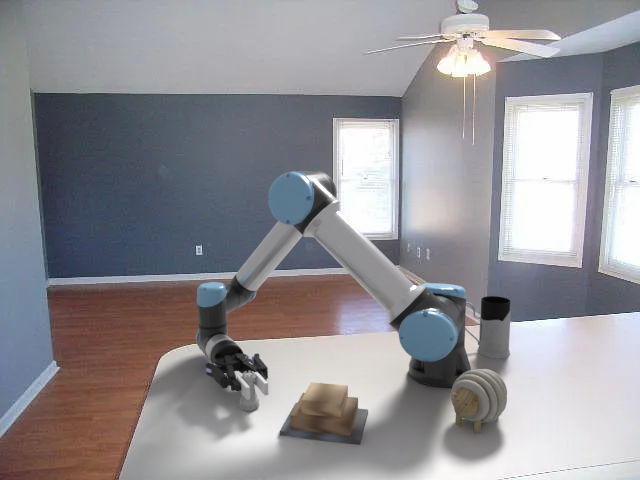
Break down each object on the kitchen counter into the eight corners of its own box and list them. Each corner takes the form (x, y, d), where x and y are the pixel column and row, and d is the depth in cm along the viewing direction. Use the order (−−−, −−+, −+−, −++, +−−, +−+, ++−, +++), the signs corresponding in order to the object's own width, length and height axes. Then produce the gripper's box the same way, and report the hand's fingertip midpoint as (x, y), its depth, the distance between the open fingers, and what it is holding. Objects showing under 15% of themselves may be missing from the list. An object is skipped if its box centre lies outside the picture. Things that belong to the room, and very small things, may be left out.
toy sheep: (435, 429, 103) (436, 377, 101) (473, 398, 115) (474, 352, 113) (486, 448, 96) (488, 393, 94) (520, 414, 108) (522, 364, 107)
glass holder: (510, 359, 137) (513, 305, 134) (455, 354, 141) (457, 301, 139) (509, 348, 145) (512, 296, 142) (458, 343, 149) (459, 293, 147)
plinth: (368, 413, 109) (368, 382, 108) (359, 444, 98) (359, 410, 97) (295, 406, 113) (295, 376, 112) (279, 435, 101) (278, 402, 100)
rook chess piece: (256, 412, 111) (254, 378, 109) (236, 411, 111) (235, 376, 110) (262, 403, 115) (261, 369, 114) (243, 401, 116) (242, 368, 114)
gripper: (256, 361, 132) (293, 399, 112) (192, 374, 125) (220, 417, 104) (255, 333, 131) (292, 366, 110) (190, 345, 124) (218, 383, 103)
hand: (257, 391), depth 107 cm, fingers open, 3 cm apart
